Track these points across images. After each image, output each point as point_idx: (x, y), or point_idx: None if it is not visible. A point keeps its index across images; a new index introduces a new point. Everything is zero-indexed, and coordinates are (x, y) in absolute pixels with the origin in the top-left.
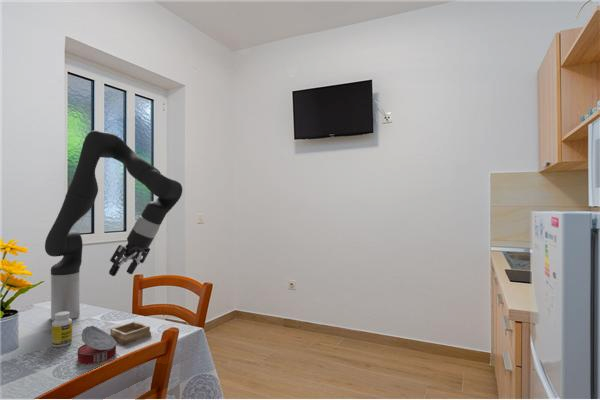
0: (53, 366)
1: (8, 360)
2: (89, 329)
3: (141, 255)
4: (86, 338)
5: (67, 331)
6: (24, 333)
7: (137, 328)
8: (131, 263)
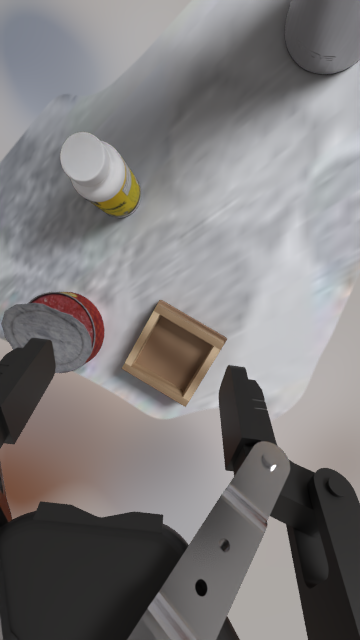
0: (16, 266)
1: (25, 139)
2: (38, 310)
3: (320, 583)
4: (15, 322)
5: (98, 206)
6: (178, 15)
7: (205, 357)
8: (239, 432)
